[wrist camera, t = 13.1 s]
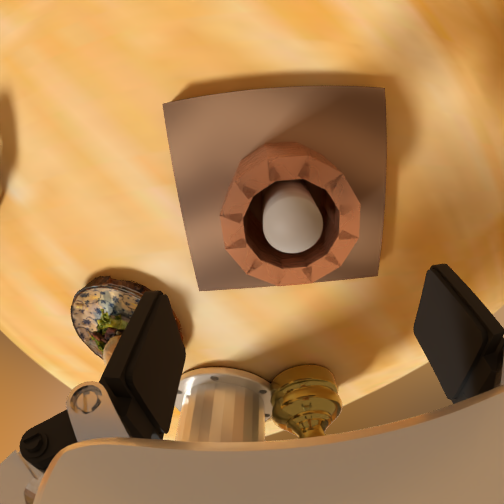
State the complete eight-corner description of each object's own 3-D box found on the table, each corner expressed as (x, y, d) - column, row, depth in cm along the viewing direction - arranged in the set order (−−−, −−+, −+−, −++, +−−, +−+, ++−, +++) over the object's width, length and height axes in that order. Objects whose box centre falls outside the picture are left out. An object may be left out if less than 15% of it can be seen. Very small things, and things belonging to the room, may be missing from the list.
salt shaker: (321, 352, 28) (343, 437, 19) (342, 386, 31) (362, 458, 23) (256, 378, 30) (261, 461, 21) (286, 407, 33) (294, 478, 24)
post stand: (371, 266, 23) (400, 317, 18) (202, 280, 24) (187, 336, 19) (376, 88, 17) (423, 87, 11) (169, 103, 18) (131, 106, 12)
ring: (336, 239, 21) (355, 278, 16) (237, 247, 21) (231, 289, 17) (335, 139, 17) (361, 153, 13) (223, 148, 18) (211, 164, 13)
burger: (79, 256, 24) (37, 306, 17) (198, 302, 26) (181, 367, 19) (78, 338, 29) (52, 386, 23) (170, 375, 31) (157, 429, 25)
